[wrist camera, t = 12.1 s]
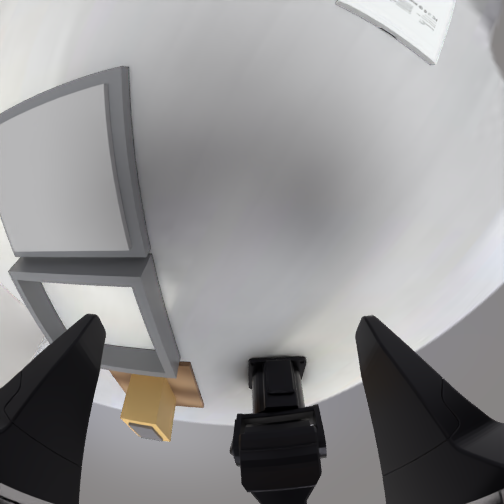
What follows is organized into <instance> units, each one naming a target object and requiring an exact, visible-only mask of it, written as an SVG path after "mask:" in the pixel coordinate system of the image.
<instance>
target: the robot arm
mask: <svg viewBox="0 0 504 504" xmlns="http://www.w3.org/2000/svg"><path fill="white" fill-rule="evenodd" d="M105 338H106V332H105V329H104V327H103V325H102V323H101V321H100V319H99V317H98V316H97V315H95V314H86V315H85V316H83V317H82V318H81V319H80V320H79V321H77V322H76V323H75V324H74V325H72V326H71V327H70V328H69V329H68V330H66V331H65V332H64V333H63V334H62V335H61V336H59V337H58V338H57V339H56V340H55V341H54V342H52V343H51V344H50V345H49V346H48V347H47V348H45V349H44V350H43V351H42V352H41V353H40V354H39V355H37V356H36V357H35V358H34V359H33V360H32V361H31V362H30V363H28V364H27V365H26V366H25V367H24V368H23V369H22V370H21V371H20V372H19V373H17V374H16V375H15V376H14V377H13V378H12V379H11V380H10V381H9V382H8V383H6V384H5V385H4V386H3V387H2V388H0V504H79V492H80V479H81V470H82V467H81V466H82V460H83V453H84V446H85V439H86V433H87V427H88V422H89V417H90V412H91V407H92V402H93V398H94V394H95V389H96V385H97V381H98V377H99V372H100V367H101V361H102V354H103V349H104V343H105ZM355 338H356V344H357V351H358V357H359V364H360V371H361V377H362V381H363V385H364V389H365V393H366V398H367V402H368V406H369V410H370V414H371V419H372V424H373V428H374V433H375V438H376V443H377V448H378V453H379V459H380V464H381V470H382V475H383V484H384V490H385V497H386V504H504V423H500V422H497V421H495V420H493V419H491V418H490V417H489V416H487V415H486V414H485V413H483V412H482V411H481V410H480V409H478V408H477V407H476V406H475V405H473V404H472V403H471V402H470V401H468V400H467V399H466V398H465V397H463V396H462V395H461V394H460V393H459V392H458V391H456V390H455V389H454V388H453V387H452V386H451V385H450V384H449V383H448V382H447V381H446V380H445V379H442V377H441V376H440V375H439V374H438V373H437V372H436V371H435V370H434V369H433V368H432V367H431V366H430V365H429V364H427V363H426V362H425V361H424V360H423V359H422V358H421V357H420V356H419V355H418V354H417V353H416V352H414V351H413V350H412V349H411V348H410V347H409V346H408V345H407V344H406V343H405V342H403V341H402V340H401V339H400V338H399V337H398V336H397V335H396V334H395V333H393V332H392V331H391V330H390V329H389V328H388V327H387V326H386V325H384V324H383V323H382V322H381V321H380V320H379V319H378V318H376V317H375V316H373V315H371V316H363V317H362V318H361V321H360V323H359V326H358V328H357V331H356V335H355ZM248 362H249V388H250V389H252V397H253V414H237V419H236V420H235V427H234V436H233V441H232V444H231V447H230V454H232V455H233V456H234V459H235V463H236V465H237V466H238V467H240V468H241V477H242V478H241V481H242V482H241V483H242V485H243V487H244V488H245V489H246V491H247V492H251V493H252V494H253V496H254V497H255V498H256V499H257V500H258V501H259V503H260V504H307V499H308V497H309V495H310V494H311V492H312V490H313V489H314V487H315V485H316V484H317V482H318V480H319V478H320V476H321V472H322V471H321V462H320V459H321V458H326V441H325V435H324V430H323V425H322V421H321V416H320V411H319V406H318V404H317V405H313V406H310V407H305V404H304V397H303V390H302V384H301V379H302V376H303V372H304V369H305V365H306V358H305V357H295V358H274V359H250V360H249V361H248ZM311 424H313V425H314V426H310V425H311Z"/></svg>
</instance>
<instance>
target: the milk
mask: <svg viewBox="0 0 504 504" xmlns="http://www.w3.org/2000/svg"><path fill="white" fill-rule="evenodd" d="M44 337H45V336H44V334H43V333H42V331H41V330H40V328H39V327H38V325H37V324H36V322H35V320H34V319H33V317H32V315H31V314H30V312H29V310H28V309H27V307H26V306H24V305H23V304H22V303H21V302H20V301H19V300H18V299H17V298H16V297H15V296H14V295H13V294H12V293H11V292H10V291H9V290H7V289H6V288H5V287H4V286H3V285H2V283H1V282H0V388H2V387H3V386H4V385H5V384H6V383H8V382H9V381H10V380H11V379H12V378H13V377H14V376H15V375H16V374H17V373H19V372H20V371H21V370H22V369H23V368H24V367H25V366H26V365H27V364H28V363H30V362H31V361H32V360H33V358H34V356H35V354H36V352H37V350H38V348H39V347H40V345H41V343H42V341H43V339H44Z"/></svg>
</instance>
